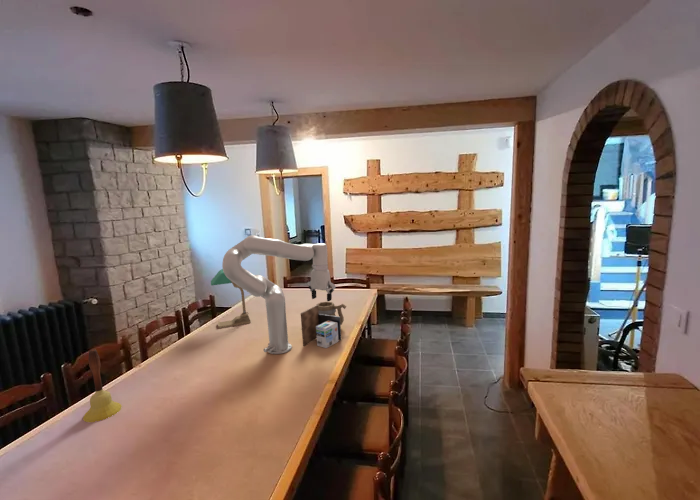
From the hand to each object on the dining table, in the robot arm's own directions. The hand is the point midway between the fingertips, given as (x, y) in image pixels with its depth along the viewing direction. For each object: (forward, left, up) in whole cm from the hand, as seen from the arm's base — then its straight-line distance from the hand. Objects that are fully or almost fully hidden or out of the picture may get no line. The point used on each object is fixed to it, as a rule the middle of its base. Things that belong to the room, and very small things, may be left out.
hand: (321, 299), depth 188 cm
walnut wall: (-1, +8, -24) cm, 25 cm away
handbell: (-88, +43, -24) cm, 101 cm away
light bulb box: (0, -3, -24) cm, 24 cm away
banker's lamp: (+3, +71, -24) cm, 75 cm away
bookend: (+6, 0, -24) cm, 25 cm away
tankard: (+21, +8, -24) cm, 33 cm away
